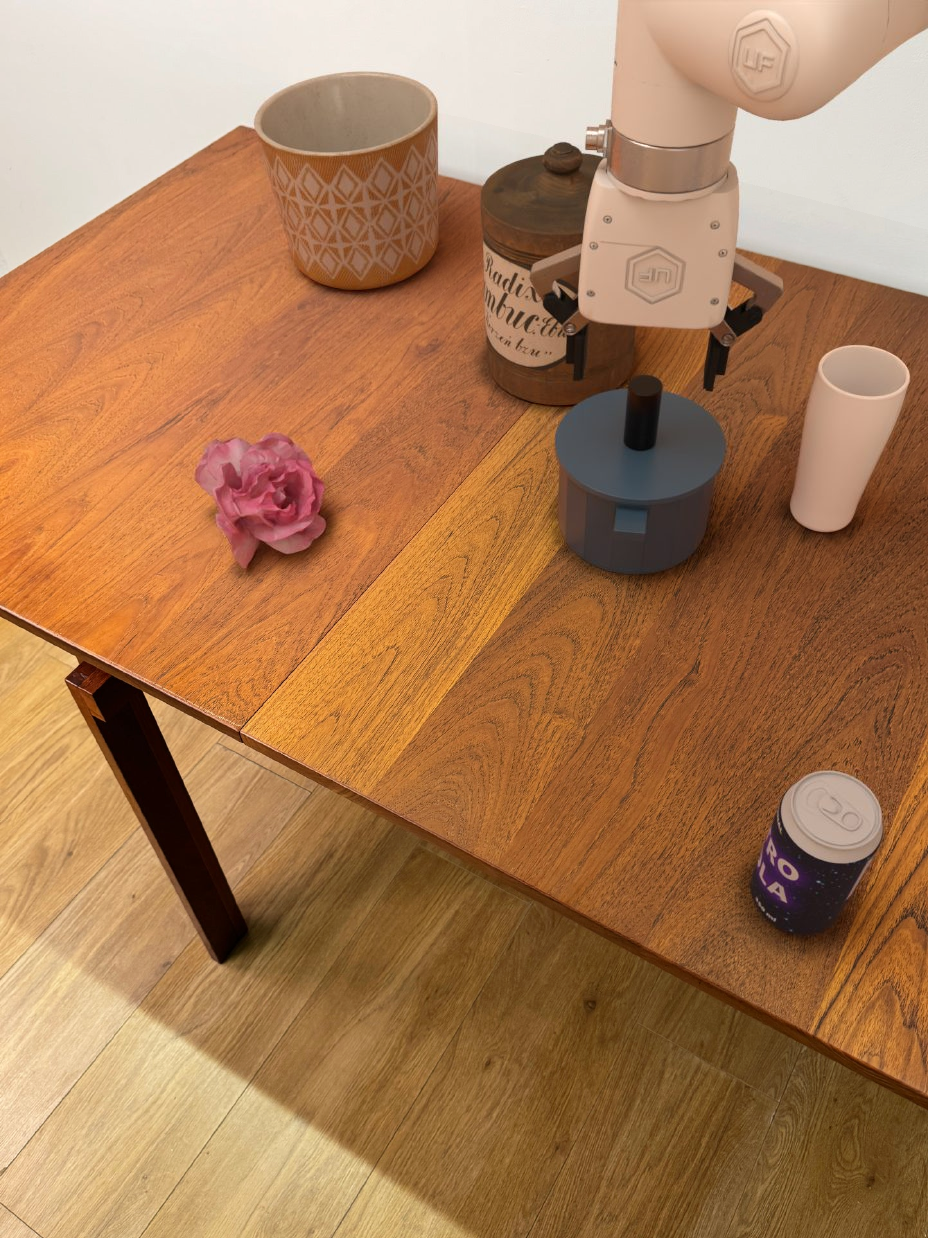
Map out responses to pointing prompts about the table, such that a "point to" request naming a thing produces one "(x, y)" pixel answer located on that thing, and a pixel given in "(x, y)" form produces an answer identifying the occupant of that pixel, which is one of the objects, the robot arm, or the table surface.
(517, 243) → the wooden container
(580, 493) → the pot
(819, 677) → the table surface
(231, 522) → the flower
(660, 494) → the pot lid
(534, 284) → the robot arm
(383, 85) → the planter
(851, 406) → the drinking glass
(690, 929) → the table surface
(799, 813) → the beverage can
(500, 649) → the table surface
